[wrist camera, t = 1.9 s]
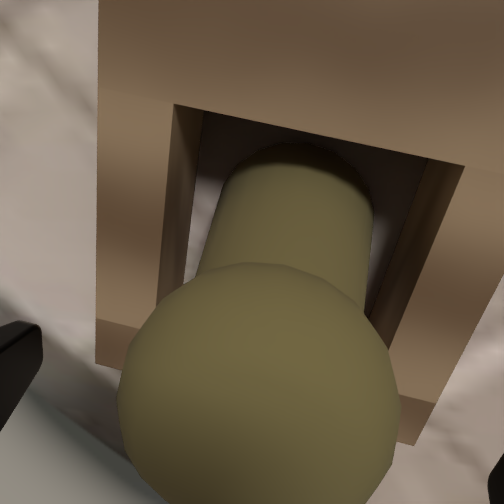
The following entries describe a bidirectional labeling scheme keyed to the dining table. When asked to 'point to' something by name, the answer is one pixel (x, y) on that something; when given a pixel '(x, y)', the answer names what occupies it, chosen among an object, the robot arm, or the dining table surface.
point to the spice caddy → (318, 122)
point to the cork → (268, 348)
